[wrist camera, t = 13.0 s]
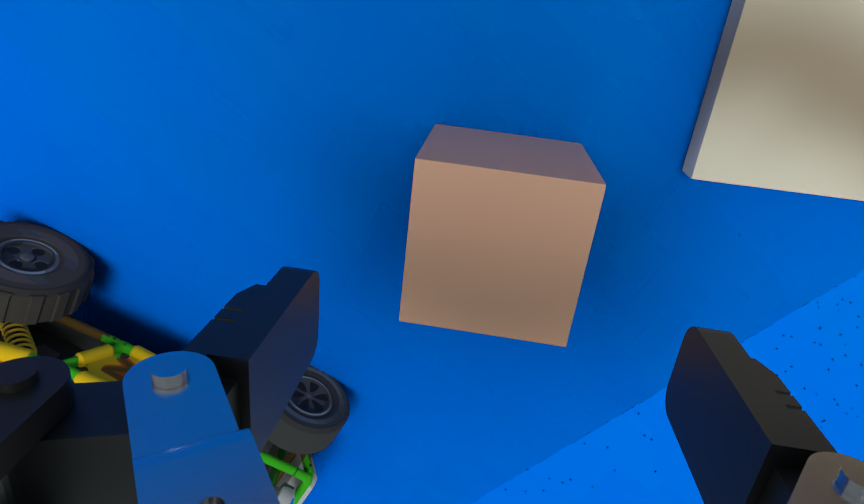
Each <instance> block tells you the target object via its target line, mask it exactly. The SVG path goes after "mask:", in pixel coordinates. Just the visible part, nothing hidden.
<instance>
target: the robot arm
mask: <svg viewBox="0 0 864 504" xmlns="http://www.w3.org/2000/svg"><path fill="white" fill-rule="evenodd" d="M318 320H319V274H318V272H317V271H313V270H306V269H299V268H292V267H285V266H284V267H282V268H281V269H280V270H279V271H278V272H277V274H276V275H275V276H274V277H273V278H272V279H271V280H270V282H269V283H268V284H267V285H266V286H265V285H258V284H256V285H254V286H252V287H249V288H247V289H245V290H243V291H241V292H239V293H237V294H236V295H235V296H234V297H233V298H232V299H231V300H230V301H229V302H228V303H227V304H226V305H225V307H224V309H221V310H220V312H219V313H218V314H217V315H216V316H215V318H214V320H213V319H212V320H211V321H210V322H209V323H208V324H207V325H206V326H205V327H204V328H203V329H202V330H201V331H200V332H199V333H198V335H197V336H196V337H195V338H194V339H193V340H192V341H191V342H190V343H189V344H188V345H187V346H186V347H185V348H184V349H183V350H182V351H173V352H166V353H161V354H157V355H154V356H151V357H149V358H146V359H144V360H142V361H140V362H139V363H137V364H136V365H134V366H133V367H132V368H131V369H130V370H129V371H128V372H127V373H126V374H125V376H124V378H123V380H121V381H107V382H88V383H72V378H71V373H70V368H69V366H68V365H67V364H66V363H65V362H64V361H62V360H60V359H57V358H54V357H48V356H30V357H22V358H16V359H12V360H8V361H5V362H2V363H0V504H280V502H279V500H278V497H277V495H276V492H275V490H274V487H273V485H272V482H271V480H270V477H269V475H268V472H267V470H266V467H265V465H264V462H263V460H262V457H261V455H260V453H261V451H262V450H263V448H264V446H265V444H266V442H267V440H268V439H269V437H270V435H271V433H272V431H273V430H274V428H275V426H276V424H277V422H278V421H279V419H280V417H281V415H282V413H283V411H284V410H285V408H286V406H287V404H288V402H289V401H290V399H291V397H292V395H293V393H294V391H295V390H296V388H297V386H298V384H299V382H300V381H301V379H302V377H303V375H304V373H305V371H306V370H307V368H308V366H309V364H310V362H311V360H312V358H313V356H314V353H315V349H316V345H317V339H318ZM665 404H666V413H667V416H668V419H669V421H670V424H671V426H672V428H673V431H674V433H675V435H676V438H677V440H678V442H679V445H680V447H681V450H682V452H683V454H684V457H685V459H686V461H687V464H688V466H689V468H690V471H691V473H692V476H693V478H694V480H695V483H696V485H697V487H698V490H699V492H700V494H701V497H702V499H703V501H704V504H864V462H863V461H860V460H858V459H855V458H853V457H850V456H847V455H843V454H840V453H837V451H836V450H835V449H834V448H833V446H832V445H831V444H830V443H829V441H828V440H827V439H826V437H825V436H824V435H823V434H822V432H821V431H820V430H819V428H818V427H817V426H816V425H815V423H814V422H813V421H812V419H811V418H810V417H809V416H808V414H807V413H806V412H805V411H802V407H801V405H800V404H799V403H798V402H797V400H796V399H795V398H794V396H790V391H789V390H788V389H787V387H786V386H785V385H784V384H783V382H782V381H781V380H780V378H779V377H778V376H777V375H776V374H775V373H773V372H772V371H771V370H769V369H768V368H767V367H765V366H764V365H763V364H761V363H760V362H759V361H757V360H756V359H753V358H750V356H749V355H748V354H747V352H746V351H745V350H744V348H743V347H742V346H741V344H740V343H739V342H738V340H737V339H736V338H735V336H734V335H733V334H732V333H731V332H728V331H721V330H714V329H707V328H700V327H691V328H689V329H688V330H687V332H686V334H685V336H684V339H683V342H682V345H681V348H680V351H679V353H678V356H677V359H676V362H675V365H674V368H673V371H672V374H671V377H670V380H669V383H668V387H667V391H666V400H665Z"/></svg>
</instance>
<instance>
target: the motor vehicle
mask: <svg viewBox="0 0 864 504" xmlns="http://www.w3.org/2000/svg"><path fill="white" fill-rule="evenodd" d="M87 250H88V249H87V248H85V247H83V246H81V245H80V244H78V243H77V242H76V241H74V240H73V239H71V238H70V237H68V236H66V235H64V234H62V233H60V232H58V231H55V230H53V229H50V228H48V227H47V226H45V225H44V226H39V225H35V224H30V223H29V222H24V221H15V222H3V221H0V363H2V362H5V361H8V360H12V359H16V358H22V357H30V356H48V357H54V358H57V359H60V360H62V361H64V362H65V363H66V364H67V365H68V366H69V368H70V373H71V378H72V383H88V382H107V381H121V380H123V378H124V376H125V374H126V373H127V372H128V371H129V370H130V369H131V368H132V367H133V366H134V365H136V364H137V363H139V362H140V361H142V360H144V359H146V358H149V357H151V356H154V355H157V354H155V353H153V352H151V351H149V350H147V349H145V348H143V347H141V346H139V345H137V346H134V345H132V344H130V343H128V342H126V341H123V340H121V339H119V338H117V337H115V336H113V335H110V334H108V333H106V332H104V331H102V330H100V329H97V328H95V327H93V326H91V325H89V324H87V323H84V322H82V321H80V320H78V319H76V318H73V317H71V316H69V315H70V314H72V313H74V312H75V311H77V310H78V308H79V306H80V304H82V303H84V302H85V300H86V298H87V296H88V293H89V290H90V288H91V285H92V282H93V279H94V276H95V272H94V267H95V265H96V264H95V261H94V258H93V256H91V255H90V254H89V253H88V251H87ZM348 416H349V401H348V398H347V395H346V393H345V391H344V390H343V388H342V387H341V385H340V384H339V383H338V382H337V381H336V379H335V378H333V377H331V376H329V375H327V374H325V373H324V372H322V371H320V370H318V369H316V368H315V367H313V366H311V365H309V366H308V368H307V370H306V371H305V373H304V375H303V377H302V379H301V381H300V382H299V384H298V386H297V388H296V390H295V391H294V393H293V395H292V397H291V399H290V401H289V402H288V404H287V406H286V408H285V410H284V411H283V413H282V415H281V417H280V419H279V421H278V422H277V424H276V426H275V428H274V430H273V431H272V433H271V435H270V437H269V439H268V440H267V442H266V444H265V446H264V448H263V450H262V451H261V453H260V455H261V457H262V460H263V462H264V465H265V467H266V470H267V472H268V475H269V477H270V480H271V482H272V485H273V487H274V490H275V492H276V495H277V497H278V500H279V502H280V504H302V503H303V501H304V500H305V498H306V497H307V496H308V494H309V493H310V491H311V490H312V489H313V487H314V485H315V483H316V481H317V475H316V471H315V466H314V462H313V458H312V454H314V453H317V452H320V451H322V450H324V449H325V448H327V447H328V446H329V445H330V444H331V443H332V441H333V440H334V438H335V437H336V436H337V434H338V433H339V431H340V430H341V428H342V427H343V426H344V424H345V422H346V421H347V419H348Z"/></svg>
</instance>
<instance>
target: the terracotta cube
mask: <svg viewBox="0 0 864 504" xmlns="http://www.w3.org/2000/svg"><path fill="white" fill-rule="evenodd" d="M605 189H606V183H605V182H604V180H603V178H602V177H601V175H600V173H599V172H598V170H597V168H596V167H595V165H594V163H593V162H592V160H591V159H590V157H589V155H588V154H587V152H586V150H585V149H584V147H583V145H582V144H581V143H576V142H569V141H561V140H554V139H546V138H539V137H531V136H524V135H517V134H509V133H502V132H494V131H487V130H479V129H472V128H464V127H457V126H449V125H442V124H435V125H434V127H433V129H432V130H431V132H430V134H429V136H428V137H427V139H426V141H425V142H424V144H423V146H422V147H421V149H420V151H419V153H418V154H417V156H416V158H415V165H414V175H413V185H412V195H411V205H410V215H409V225H408V235H407V245H406V255H405V265H404V275H403V285H402V295H401V305H400V315H399V321H403V322H410V323H416V324H422V325H429V326H435V327H442V328H448V329H454V330H461V331H467V332H473V333H480V334H486V335H493V336H499V337H505V338H512V339H518V340H524V341H531V342H537V343H544V344H550V345H556V346H563V347H566V344H567V340H568V336H569V332H570V328H571V324H572V320H573V316H574V312H575V308H576V304H577V300H578V296H579V292H580V288H581V284H582V280H583V277H584V273H585V269H586V265H587V261H588V257H589V253H590V249H591V245H592V241H593V237H594V233H595V229H596V225H597V221H598V217H599V213H600V209H601V205H602V201H603V197H604V193H605Z"/></svg>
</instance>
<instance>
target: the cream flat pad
mask: <svg viewBox="0 0 864 504" xmlns="http://www.w3.org/2000/svg"><path fill="white" fill-rule="evenodd" d="M682 171H683V172H684V173H685V174H686V175H688V176H689V177H690V178H691V179H697V180H705V181H713V182H720V183H728V184H736V185H744V186H752V187H759V188H767V189H775V190H783V191H790V192H798V193H806V194H814V195H822V196H829V197H837V198H845V199H853V200H860V201H864V0H732V3H731V7H730V10H729V14H728V17H727V20H726V24H725V27H724V30H723V34H722V37H721V41H720V44H719V47H718V51H717V54H716V57H715V61H714V64H713V68H712V71H711V74H710V78H709V81H708V84H707V88H706V91H705V95H704V98H703V101H702V105H701V108H700V111H699V115H698V118H697V122H696V125H695V128H694V132H693V135H692V138H691V142H690V145H689V149H688V152H687V155H686V159H685V162H684V165H683V169H682Z"/></svg>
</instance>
